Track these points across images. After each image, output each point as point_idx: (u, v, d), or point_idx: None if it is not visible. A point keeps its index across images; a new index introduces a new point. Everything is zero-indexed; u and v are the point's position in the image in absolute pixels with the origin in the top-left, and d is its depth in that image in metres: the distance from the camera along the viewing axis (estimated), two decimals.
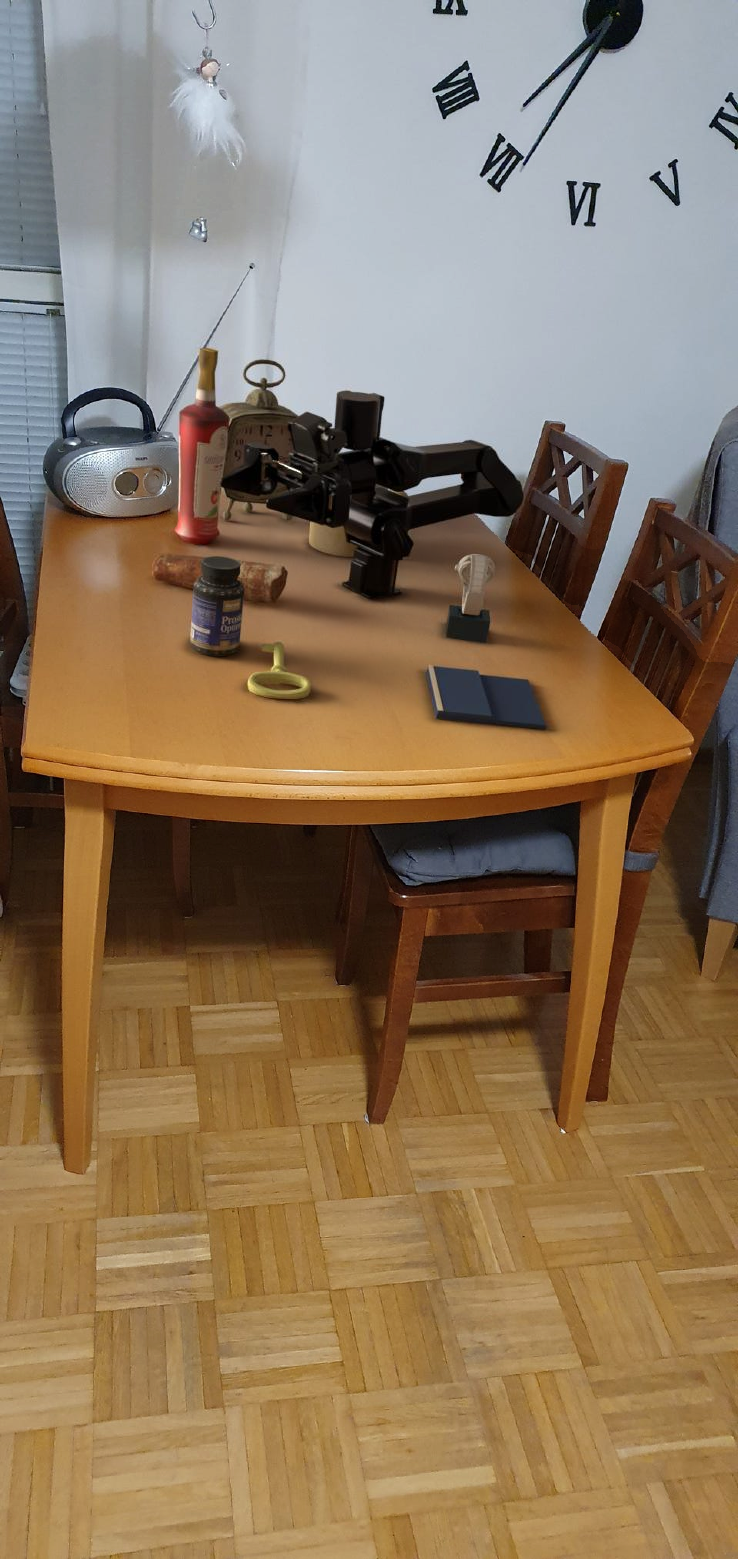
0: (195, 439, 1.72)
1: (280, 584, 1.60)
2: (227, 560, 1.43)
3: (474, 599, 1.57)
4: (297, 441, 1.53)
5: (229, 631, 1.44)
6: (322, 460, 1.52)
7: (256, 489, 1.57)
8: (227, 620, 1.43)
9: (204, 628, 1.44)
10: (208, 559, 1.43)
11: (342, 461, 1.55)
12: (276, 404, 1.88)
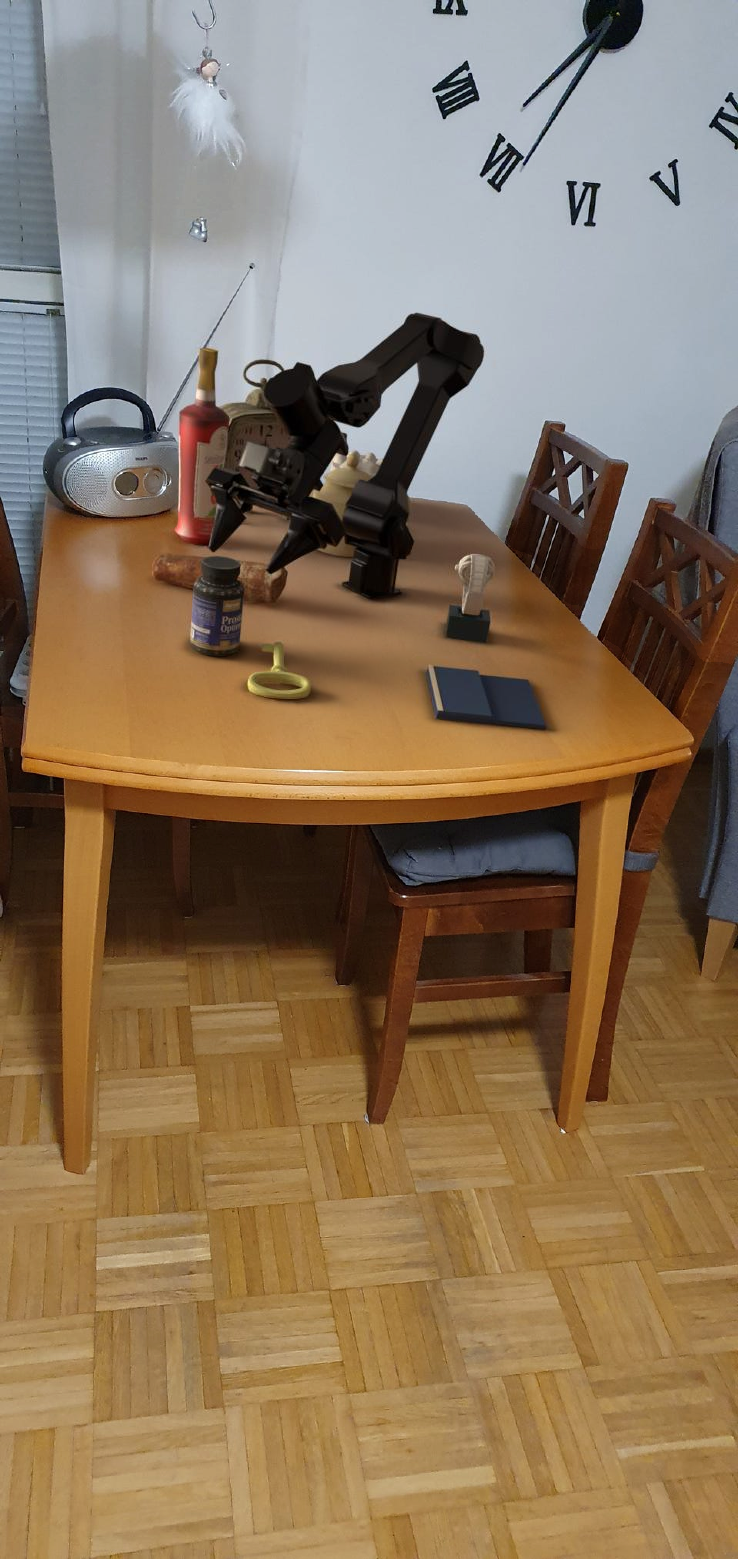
0: (195, 439, 1.72)
1: (280, 584, 1.60)
2: (227, 560, 1.43)
3: (474, 599, 1.57)
4: (255, 471, 1.43)
5: (229, 631, 1.44)
6: (289, 480, 1.43)
7: (240, 518, 1.51)
8: (227, 620, 1.43)
9: (204, 628, 1.44)
10: (208, 559, 1.43)
11: (306, 459, 1.45)
12: None
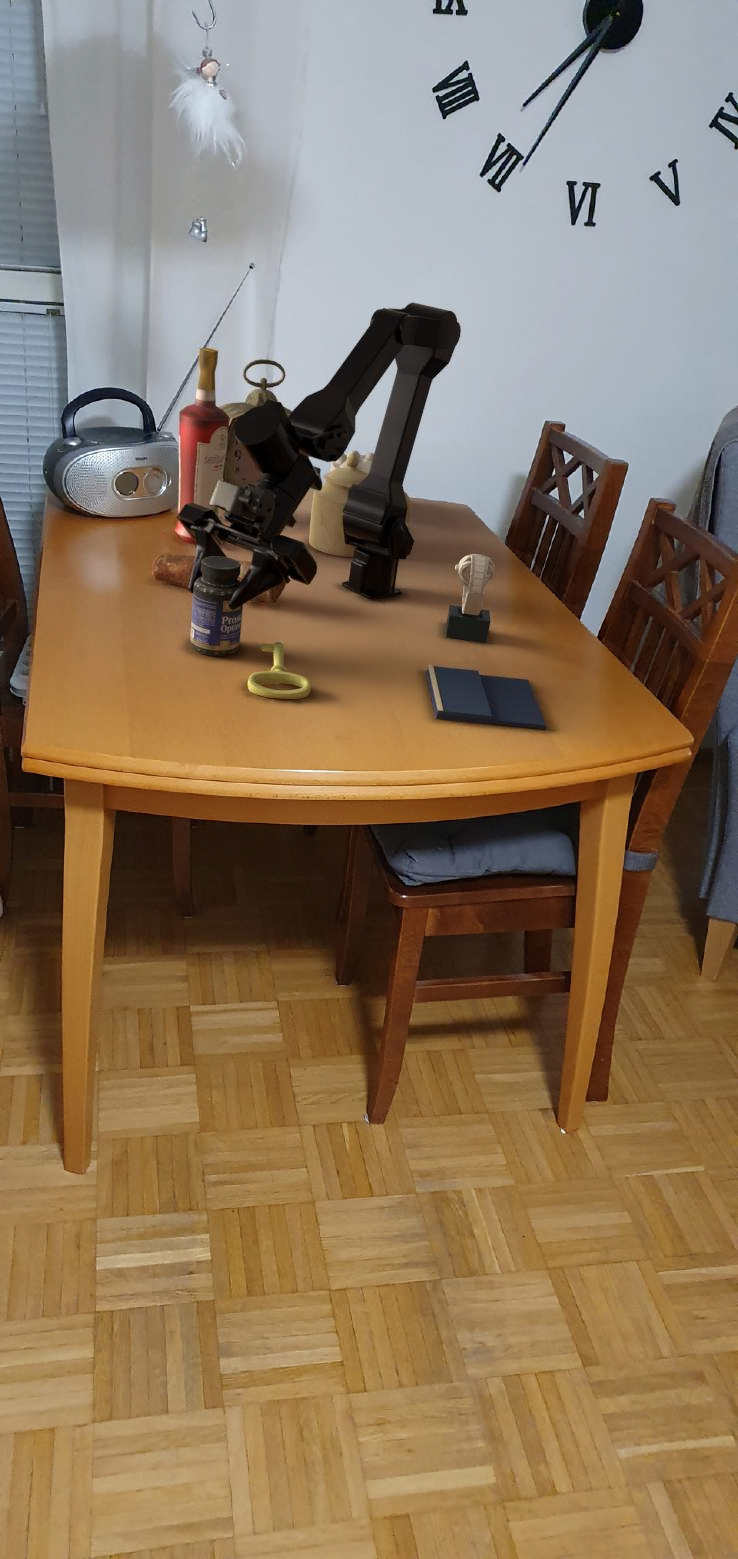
0: (195, 439, 1.72)
1: (280, 584, 1.60)
2: (227, 560, 1.43)
3: (474, 599, 1.57)
4: None
5: (229, 631, 1.44)
6: (260, 518, 1.42)
7: None
8: (227, 620, 1.43)
9: (204, 628, 1.44)
10: (208, 559, 1.43)
11: (277, 496, 1.43)
12: None
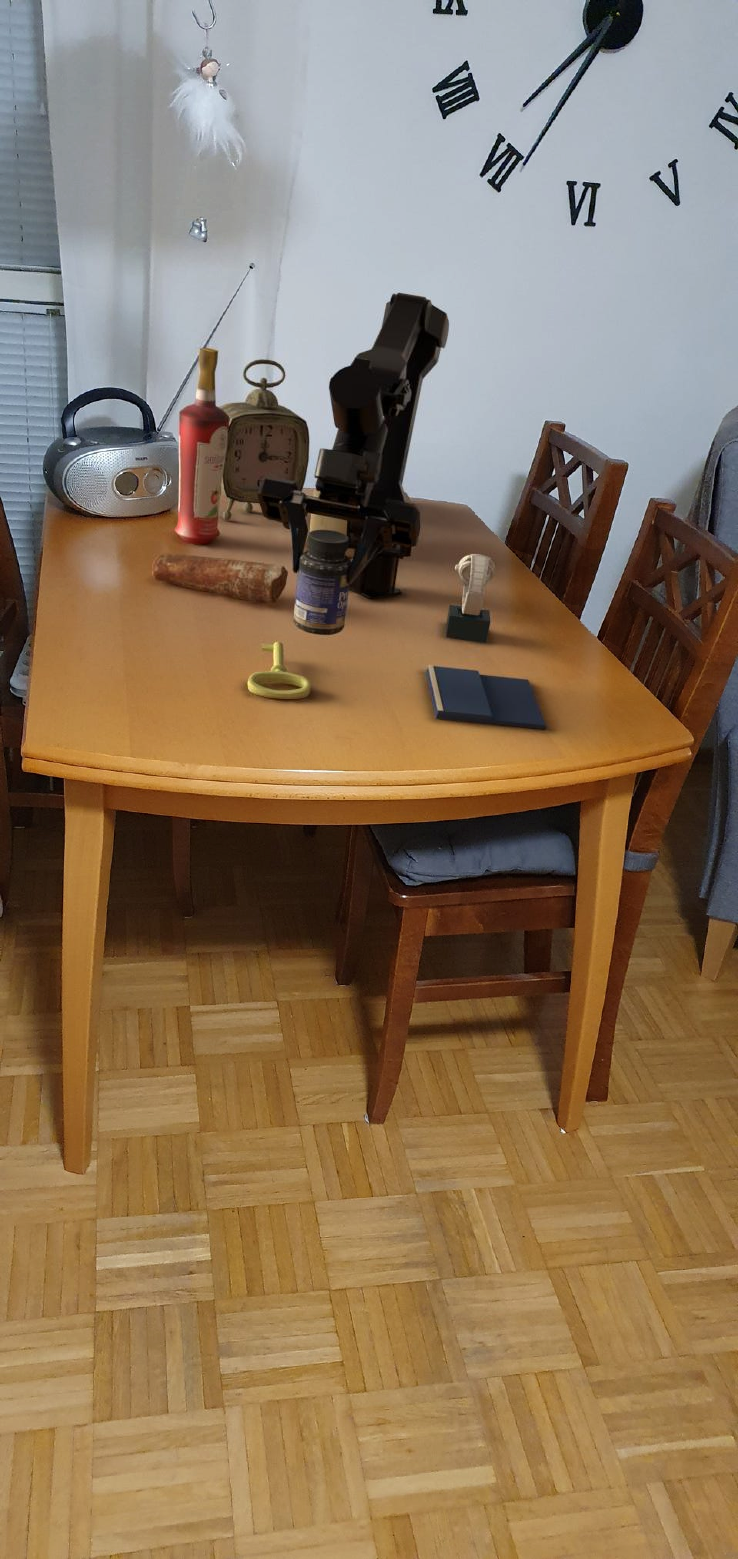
0: (195, 439, 1.72)
1: (280, 584, 1.60)
2: (330, 533, 1.36)
3: (474, 599, 1.57)
4: (327, 479, 1.34)
5: (343, 607, 1.38)
6: (363, 484, 1.35)
7: (306, 531, 1.40)
8: (343, 595, 1.37)
9: (320, 608, 1.36)
10: (314, 534, 1.35)
11: None
12: (276, 404, 1.88)
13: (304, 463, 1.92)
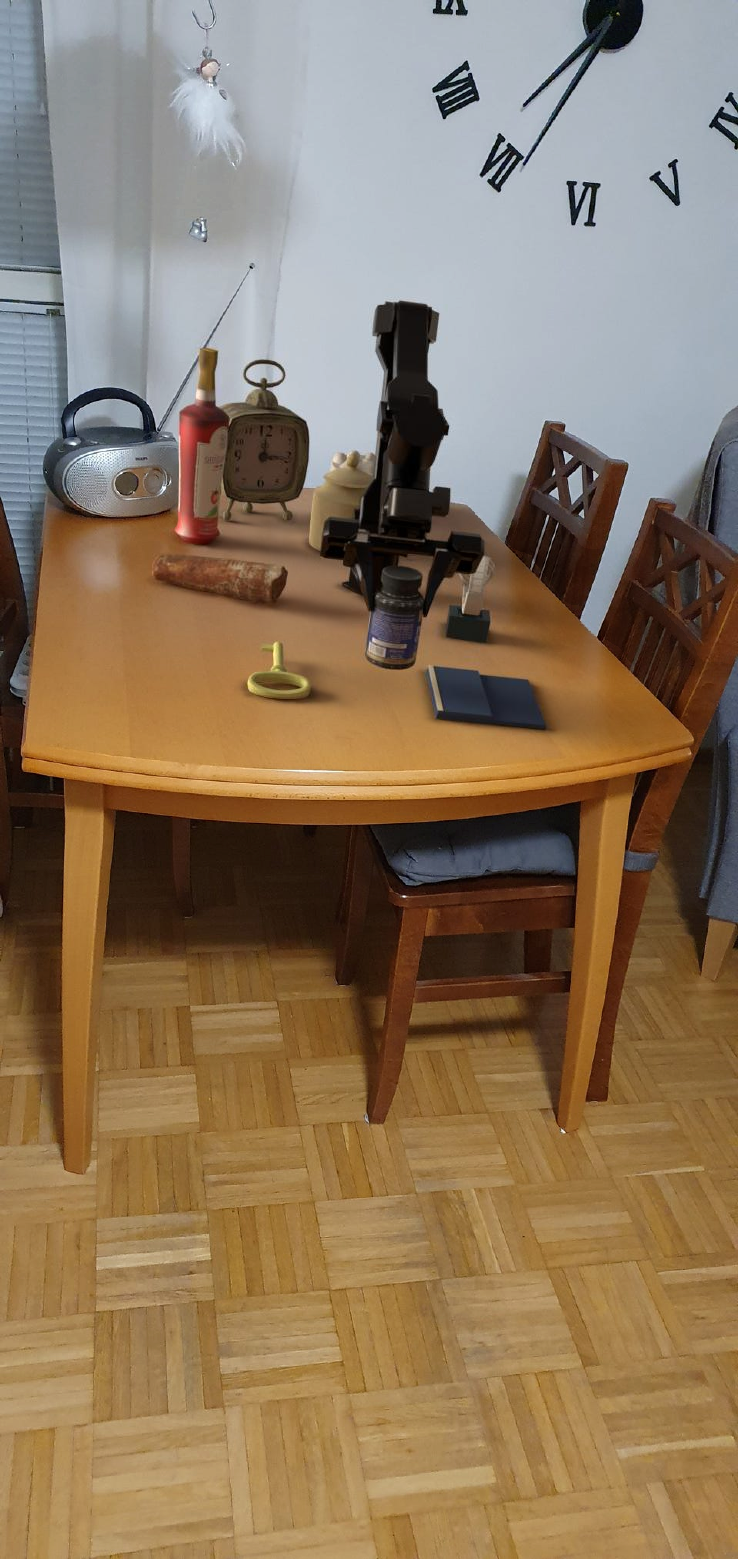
0: (195, 439, 1.72)
1: (280, 584, 1.60)
2: (401, 569, 1.37)
3: (474, 599, 1.57)
4: (398, 517, 1.35)
5: (418, 640, 1.40)
6: None
7: None
8: (419, 629, 1.38)
9: (400, 644, 1.37)
10: (389, 572, 1.36)
11: None
12: (276, 404, 1.88)
13: (304, 463, 1.92)
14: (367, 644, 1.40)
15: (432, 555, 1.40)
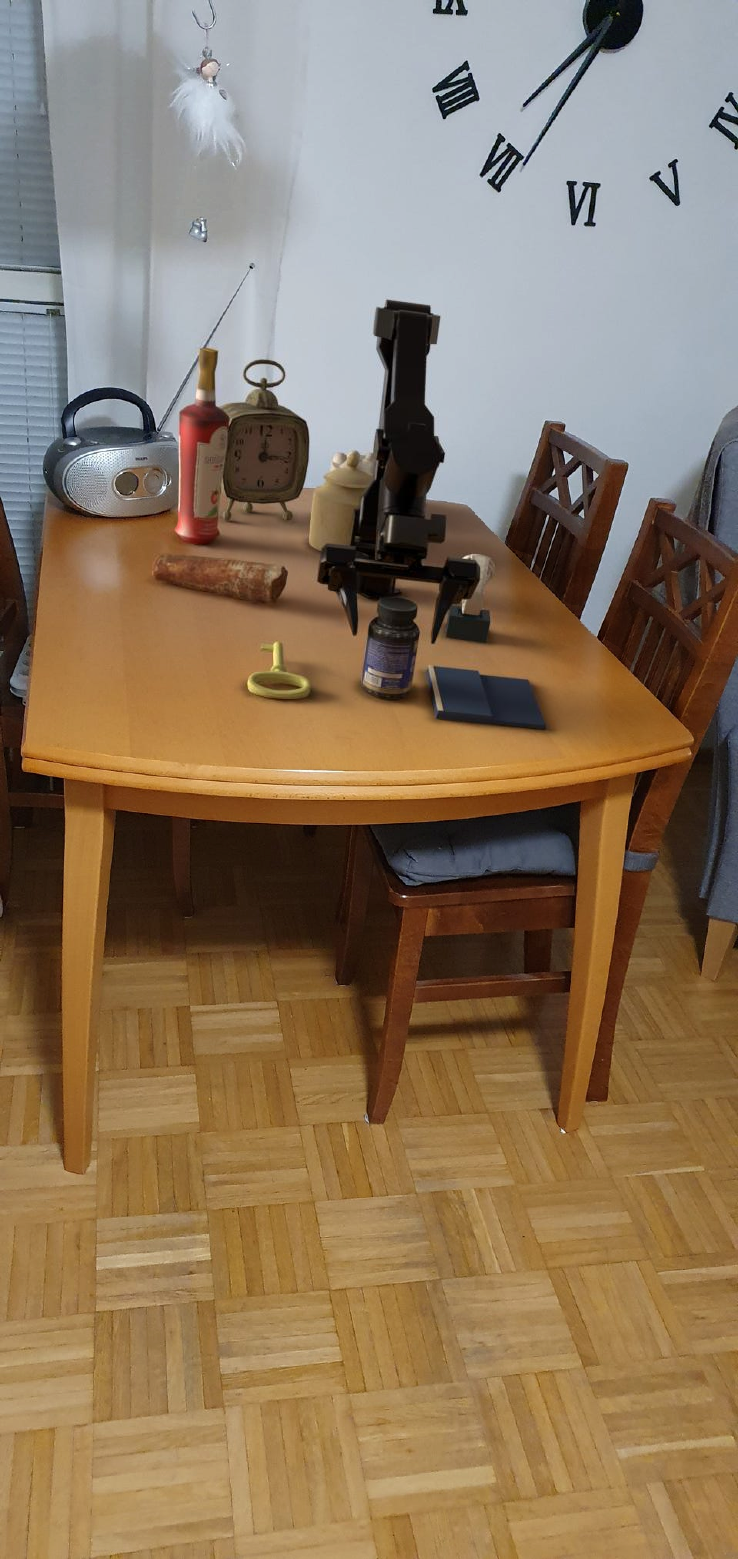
0: (195, 439, 1.72)
1: (280, 584, 1.60)
2: (396, 600, 1.39)
3: (474, 599, 1.57)
4: (394, 543, 1.36)
5: (413, 670, 1.41)
6: None
7: None
8: (414, 659, 1.40)
9: (396, 674, 1.39)
10: (384, 603, 1.38)
11: (424, 519, 1.40)
12: (276, 404, 1.88)
13: (304, 463, 1.92)
14: (363, 674, 1.41)
15: (428, 581, 1.41)
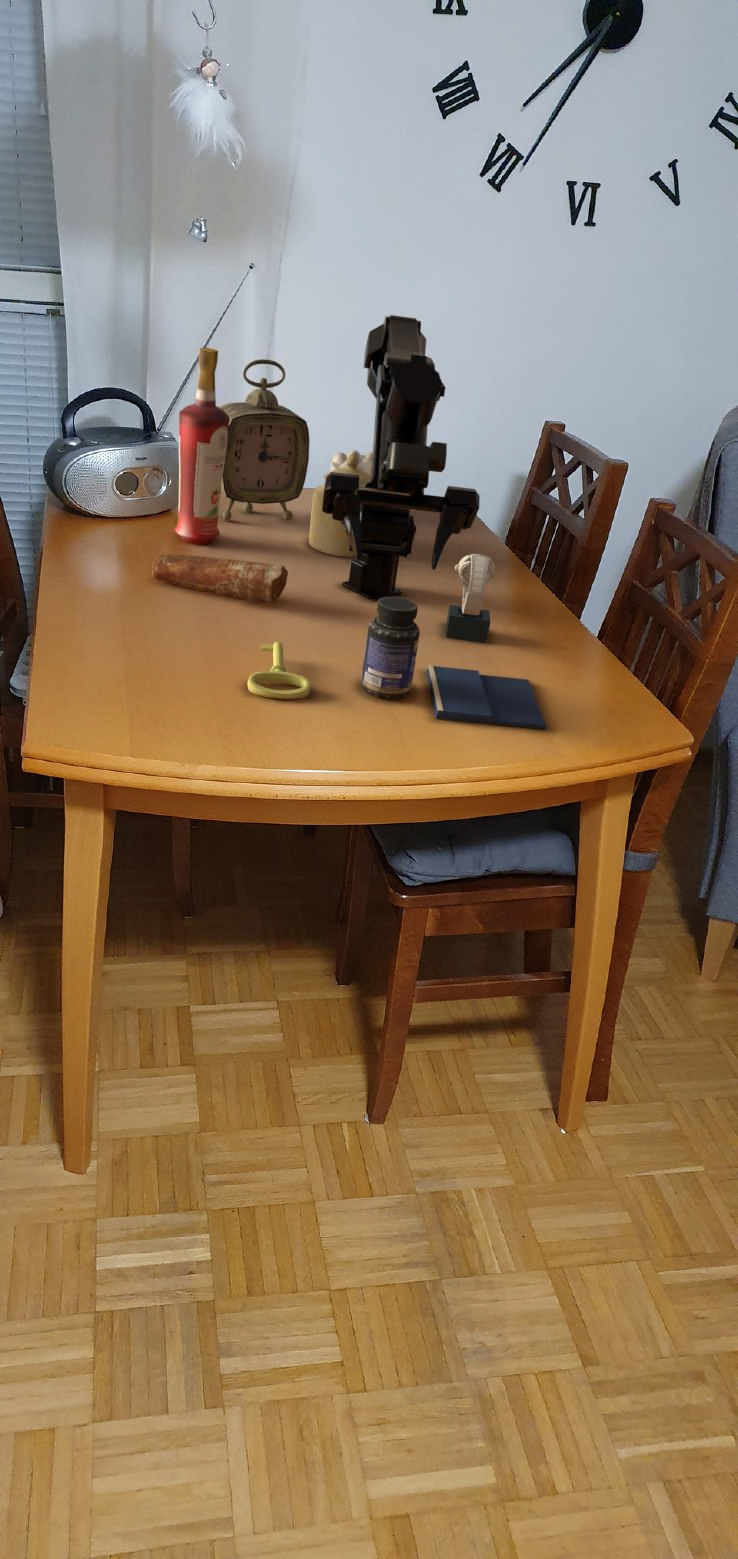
0: (195, 439, 1.72)
1: (280, 584, 1.60)
2: (396, 600, 1.39)
3: (474, 599, 1.57)
4: (396, 471, 1.41)
5: (413, 670, 1.41)
6: None
7: None
8: (414, 659, 1.40)
9: (396, 674, 1.39)
10: (384, 603, 1.38)
11: None
12: (276, 404, 1.88)
13: (304, 463, 1.92)
14: (363, 674, 1.41)
15: (429, 510, 1.46)
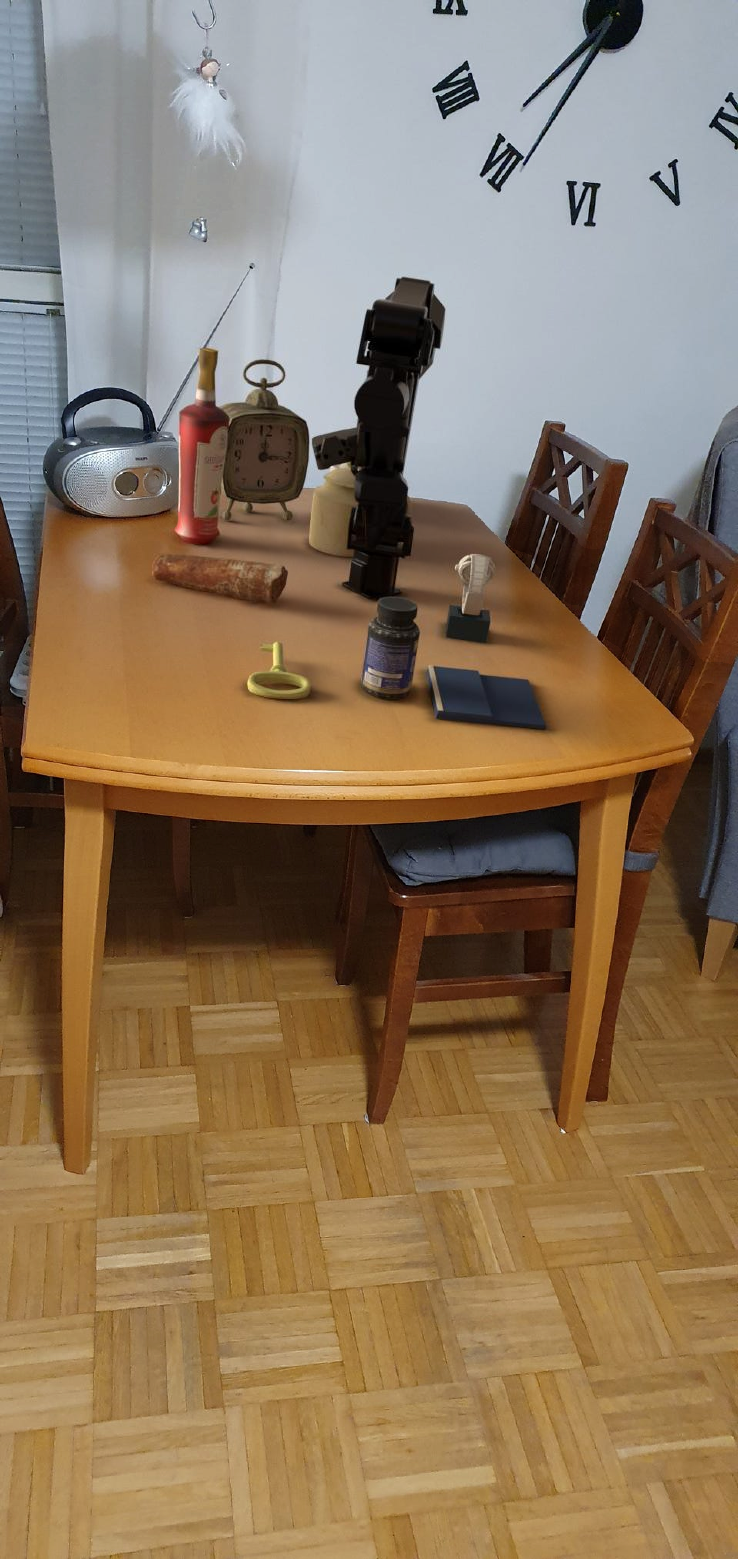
0: (195, 439, 1.72)
1: (280, 584, 1.60)
2: (396, 600, 1.39)
3: (474, 599, 1.57)
4: None
5: (413, 670, 1.41)
6: (353, 456, 1.45)
7: None
8: (414, 659, 1.40)
9: (396, 674, 1.39)
10: (384, 603, 1.38)
11: (362, 426, 1.43)
12: (276, 404, 1.88)
13: (304, 463, 1.92)
14: (363, 674, 1.41)
15: None
